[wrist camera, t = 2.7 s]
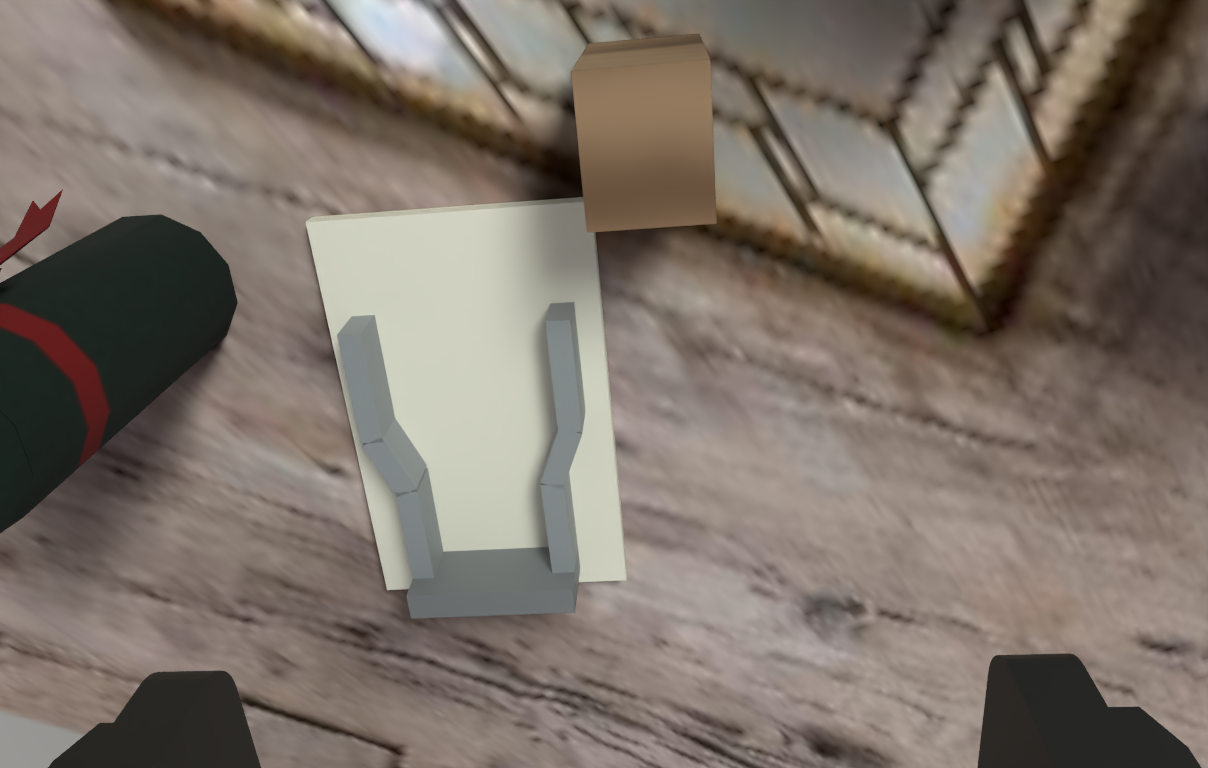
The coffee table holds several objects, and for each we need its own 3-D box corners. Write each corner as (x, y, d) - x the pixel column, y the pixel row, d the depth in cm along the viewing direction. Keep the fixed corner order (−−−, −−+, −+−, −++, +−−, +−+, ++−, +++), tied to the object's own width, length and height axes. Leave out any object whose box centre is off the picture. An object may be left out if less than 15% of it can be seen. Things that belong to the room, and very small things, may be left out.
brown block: (588, 43, 44) (571, 71, 35) (699, 33, 43) (710, 59, 34) (600, 174, 46) (586, 232, 37) (704, 166, 46) (716, 223, 37)
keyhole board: (312, 216, 48) (276, 246, 43) (592, 196, 47) (585, 224, 42) (391, 579, 57) (368, 635, 52) (626, 569, 56) (624, 625, 51)
